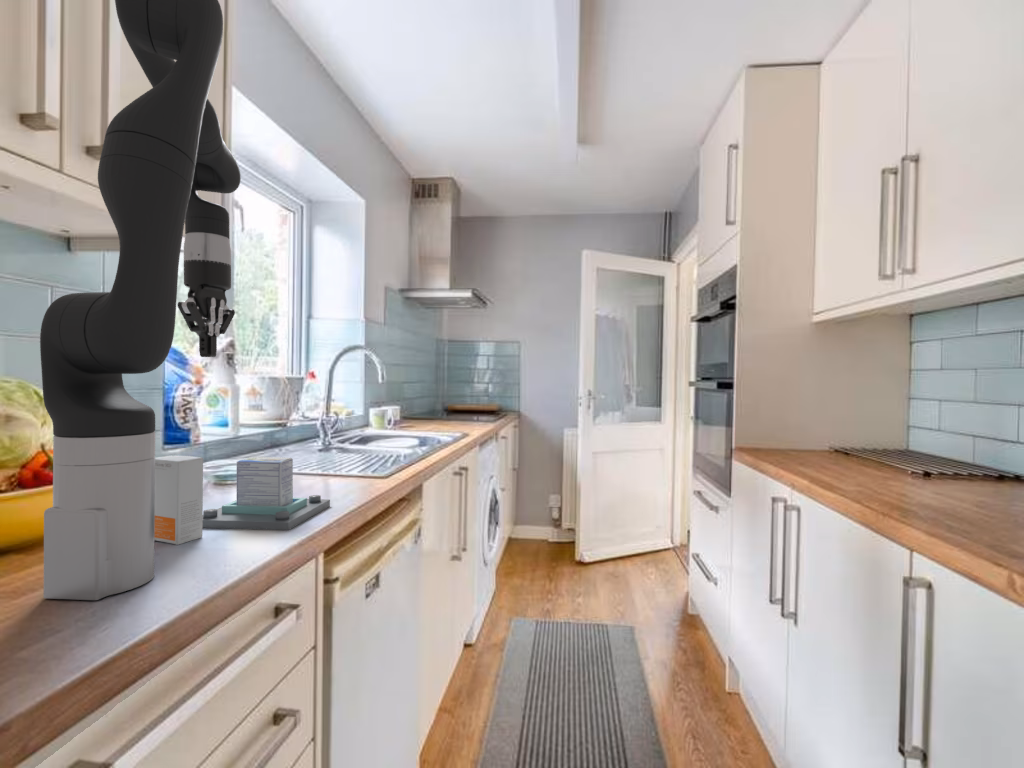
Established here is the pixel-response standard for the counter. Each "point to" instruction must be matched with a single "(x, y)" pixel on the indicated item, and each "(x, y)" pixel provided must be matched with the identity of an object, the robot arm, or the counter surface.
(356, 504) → the counter surface
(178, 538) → the skincare box
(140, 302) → the robot arm
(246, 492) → the medicine box
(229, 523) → the baseplate
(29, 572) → the counter surface
